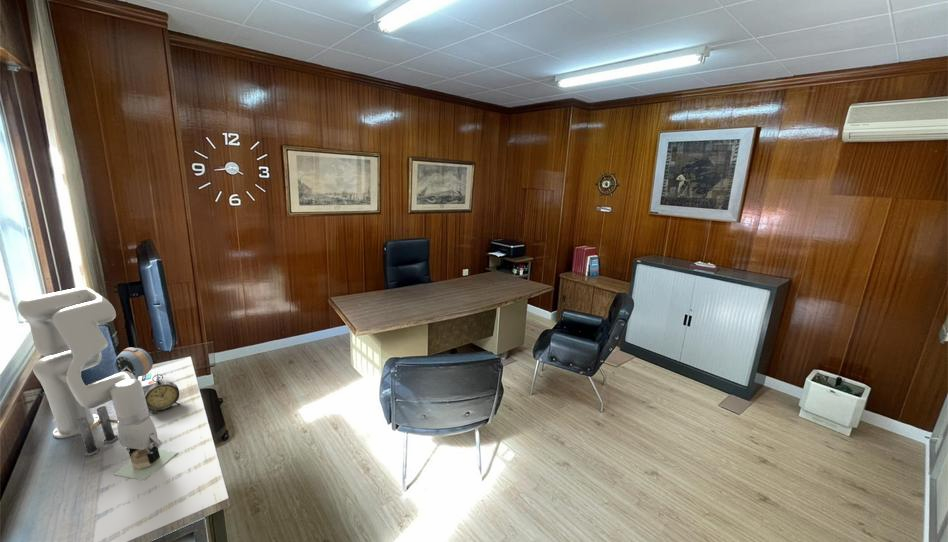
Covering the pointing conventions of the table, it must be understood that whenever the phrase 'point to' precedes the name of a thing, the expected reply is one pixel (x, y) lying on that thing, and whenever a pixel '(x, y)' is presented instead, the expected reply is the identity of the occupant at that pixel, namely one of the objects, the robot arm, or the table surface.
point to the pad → (146, 471)
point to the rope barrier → (86, 429)
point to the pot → (140, 458)
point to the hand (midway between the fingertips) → (145, 458)
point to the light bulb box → (148, 381)
